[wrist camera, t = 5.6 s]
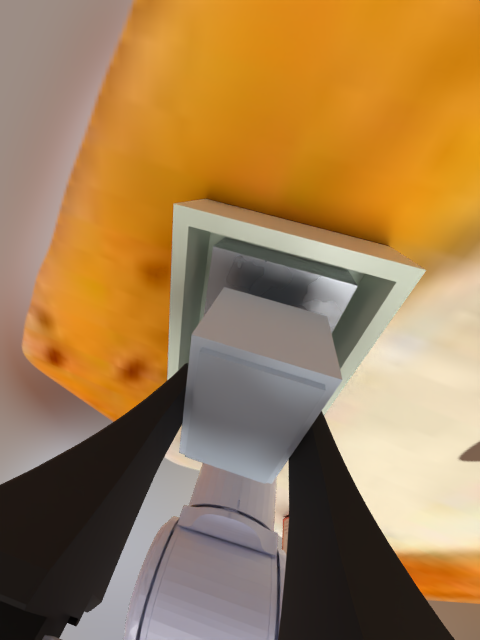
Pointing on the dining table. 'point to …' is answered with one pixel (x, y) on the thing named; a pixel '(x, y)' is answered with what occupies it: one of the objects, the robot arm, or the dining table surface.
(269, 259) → the tin block
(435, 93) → the dining table surface
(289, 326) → the pale grey box
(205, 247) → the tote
